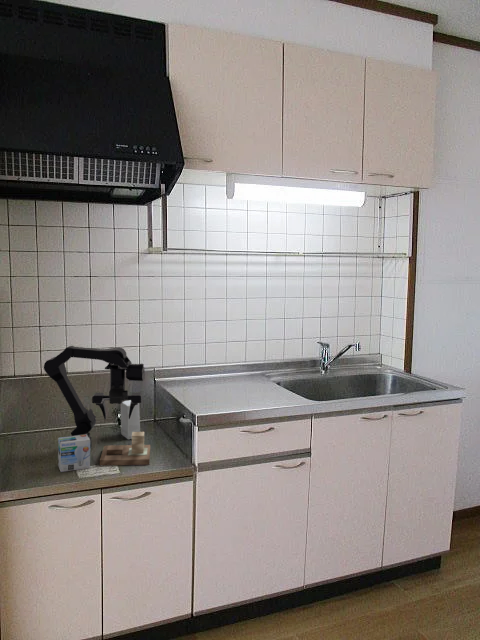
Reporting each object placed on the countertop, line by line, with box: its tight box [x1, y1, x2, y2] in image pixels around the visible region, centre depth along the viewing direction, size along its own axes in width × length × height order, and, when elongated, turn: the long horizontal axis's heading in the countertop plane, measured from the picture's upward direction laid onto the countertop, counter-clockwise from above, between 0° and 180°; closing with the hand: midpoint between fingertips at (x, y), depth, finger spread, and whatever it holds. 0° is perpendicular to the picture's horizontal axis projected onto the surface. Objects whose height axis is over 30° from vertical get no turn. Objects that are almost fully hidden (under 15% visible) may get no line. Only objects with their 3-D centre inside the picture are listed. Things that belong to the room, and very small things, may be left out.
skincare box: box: [120, 400, 141, 440], centre depth 224 cm, size 8×6×15 cm
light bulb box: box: [57, 434, 91, 473], centre depth 190 cm, size 11×7×11 cm, turn 118°
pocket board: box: [99, 444, 151, 466], centre depth 201 cm, size 18×15×2 cm
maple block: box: [131, 431, 145, 454], centre depth 201 cm, size 4×4×7 cm
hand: (117, 419), depth 206 cm, fingers open, 9 cm apart
